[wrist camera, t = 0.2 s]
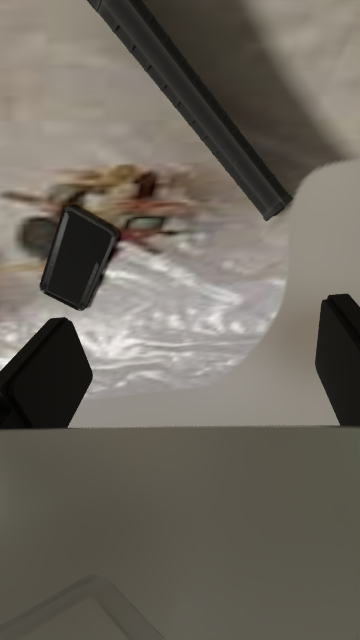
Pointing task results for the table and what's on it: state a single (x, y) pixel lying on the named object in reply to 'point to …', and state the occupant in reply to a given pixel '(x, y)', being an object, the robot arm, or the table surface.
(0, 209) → the table surface
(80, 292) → the phone
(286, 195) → the magazine
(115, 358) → the table surface
